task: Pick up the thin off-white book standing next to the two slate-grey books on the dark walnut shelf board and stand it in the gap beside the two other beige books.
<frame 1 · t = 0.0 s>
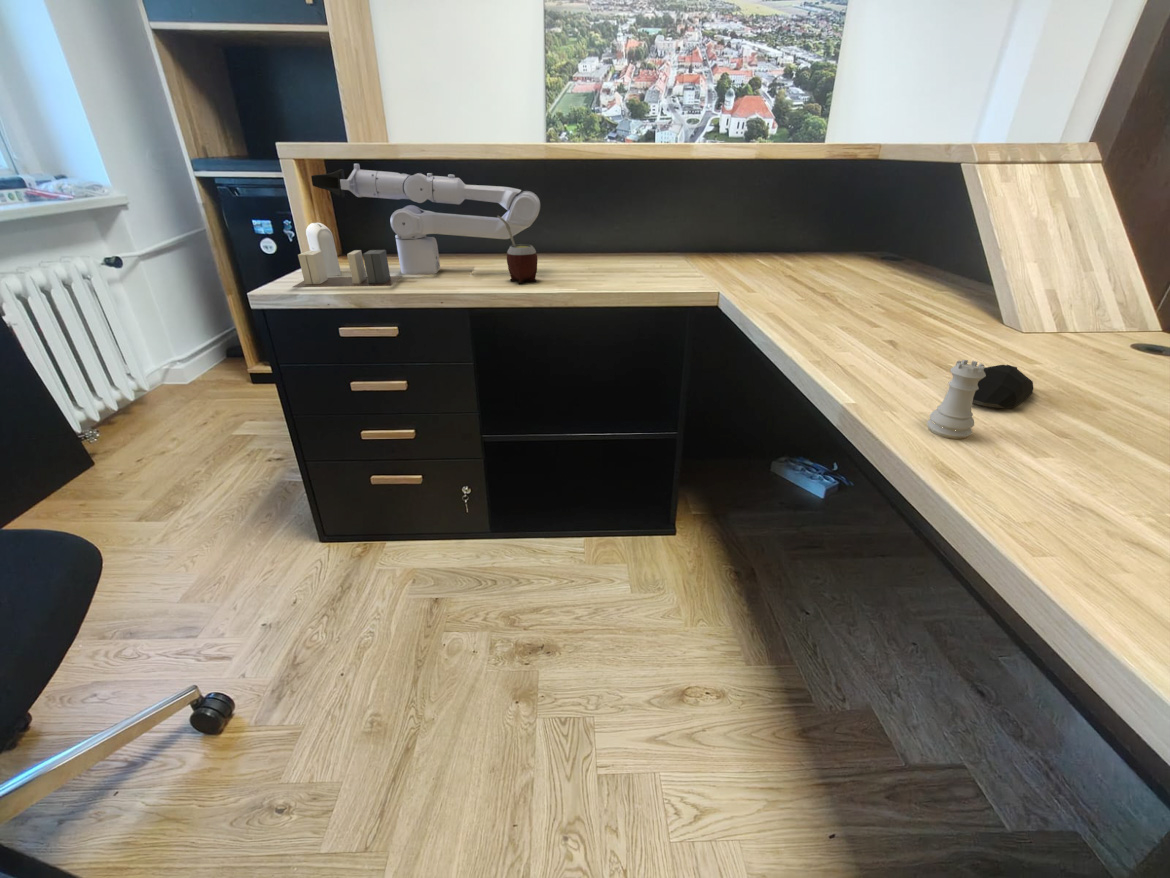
hand: (319, 179, 128), 22 cm above the table, tool horizontal, fingers open, 7 cm apart
grey books: (379, 280, 129), resting on shelf board
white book: (359, 281, 129), point 1 cm above the table, touching shelf board
gaming mouse: (998, 394, 72), on the table
photo printer: (328, 276, 138), on the table
mate gourd: (522, 282, 131), on the table
rook chess piece: (947, 432, 62), on the table
shelf board: (349, 284, 129), on the table
beige books: (316, 281, 128), resting on shelf board
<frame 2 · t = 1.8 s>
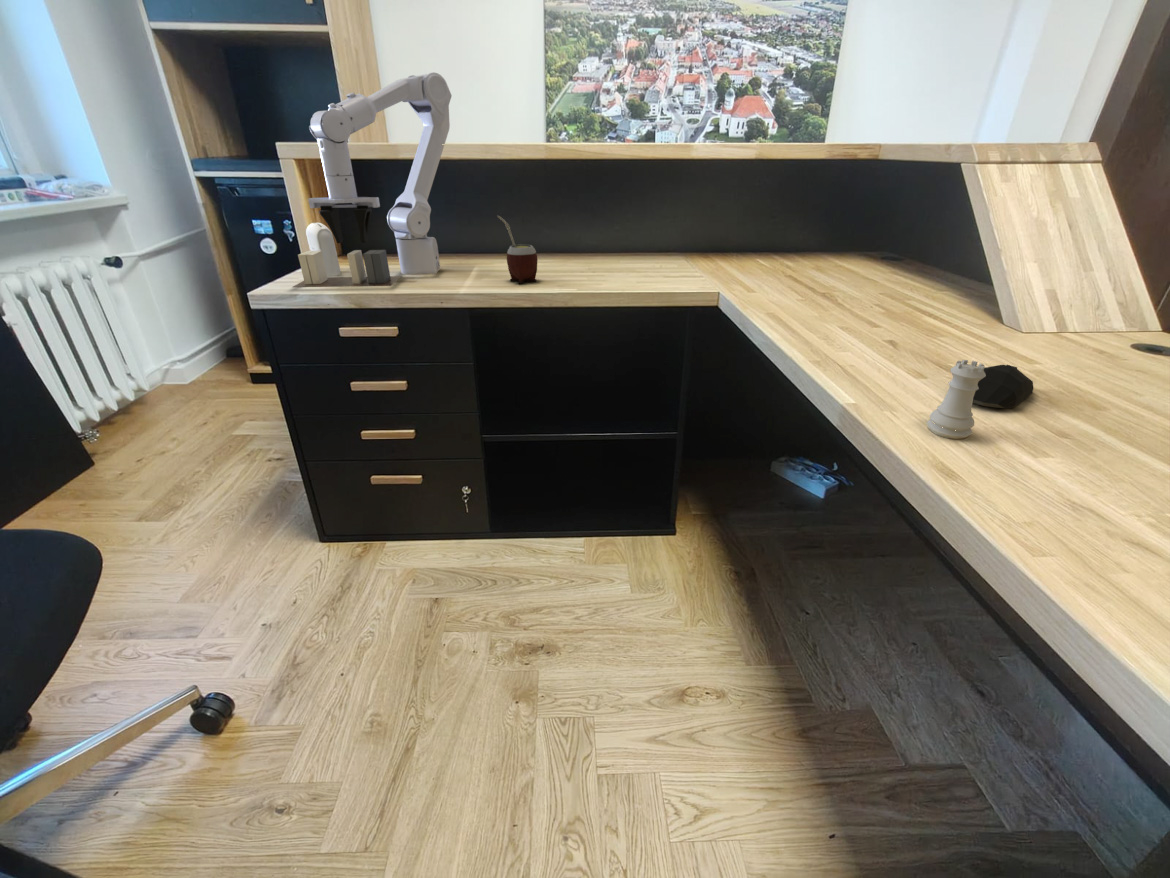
hand: (352, 242, 124), 9 cm above the table, tool pointing down, fingers open, 5 cm apart
nothing on the table moved.
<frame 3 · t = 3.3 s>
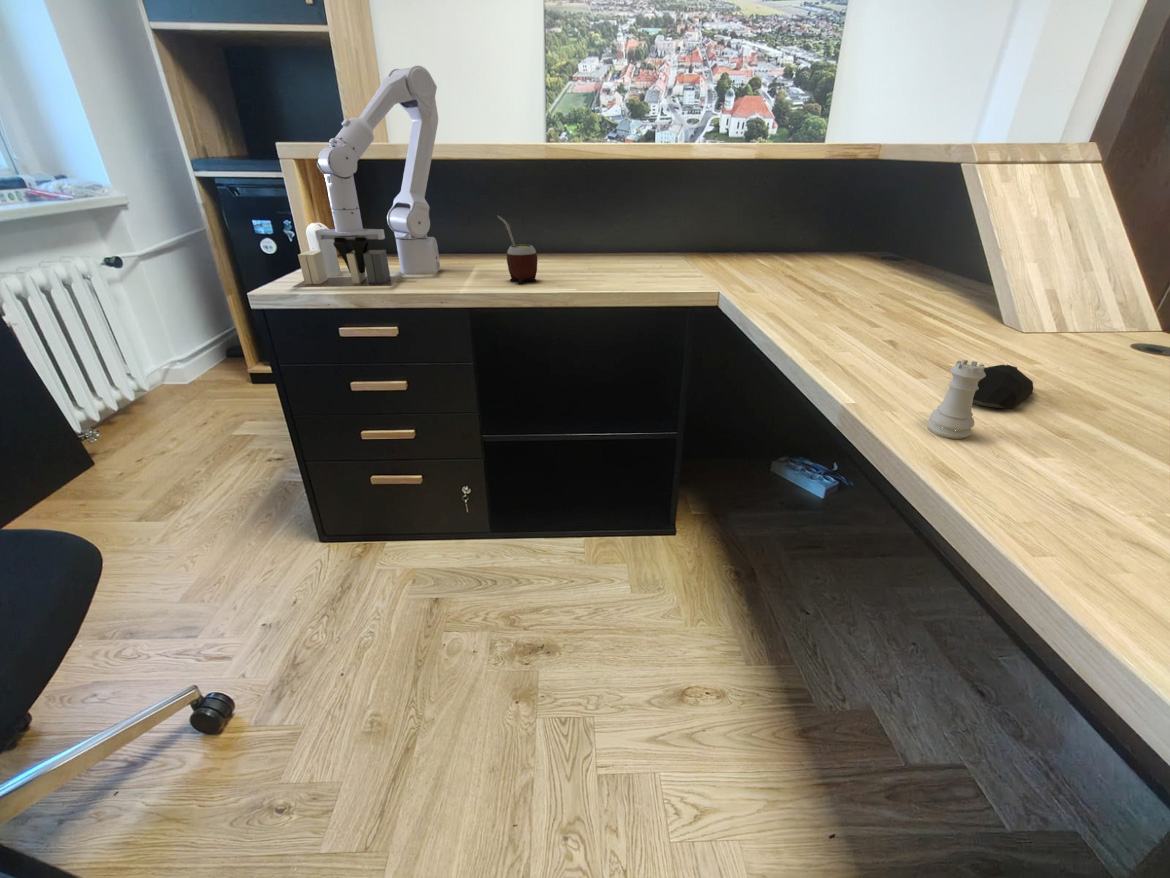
hand: (357, 272, 128), 3 cm above the table, tool pointing down, fingers closed on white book, 2 cm apart
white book: (359, 281, 129), point 1 cm above the table, touching gripper, shelf board
everything else where it was.
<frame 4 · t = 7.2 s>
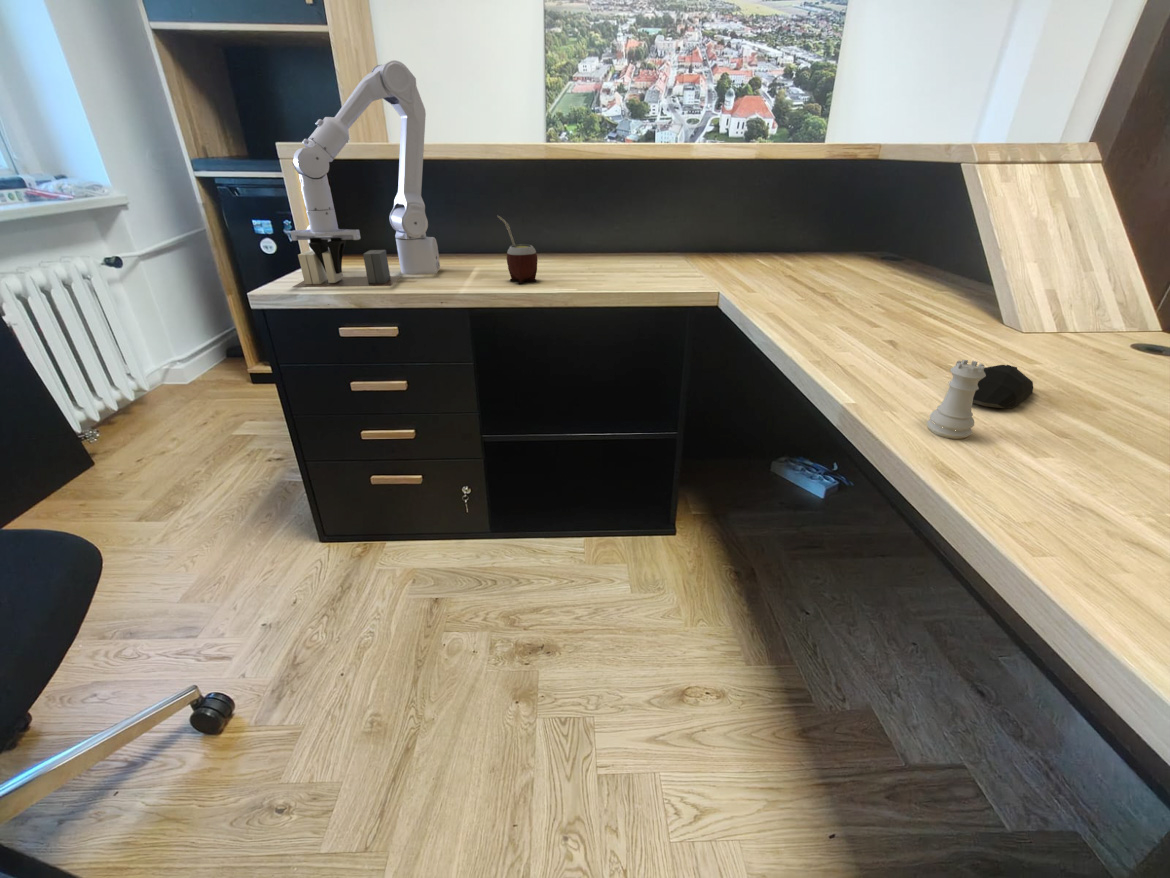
hand: (333, 272, 127), 3 cm above the table, tool pointing down, fingers closed on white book
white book: (335, 280, 128), point 1 cm above the table, touching gripper
everything else where it was.
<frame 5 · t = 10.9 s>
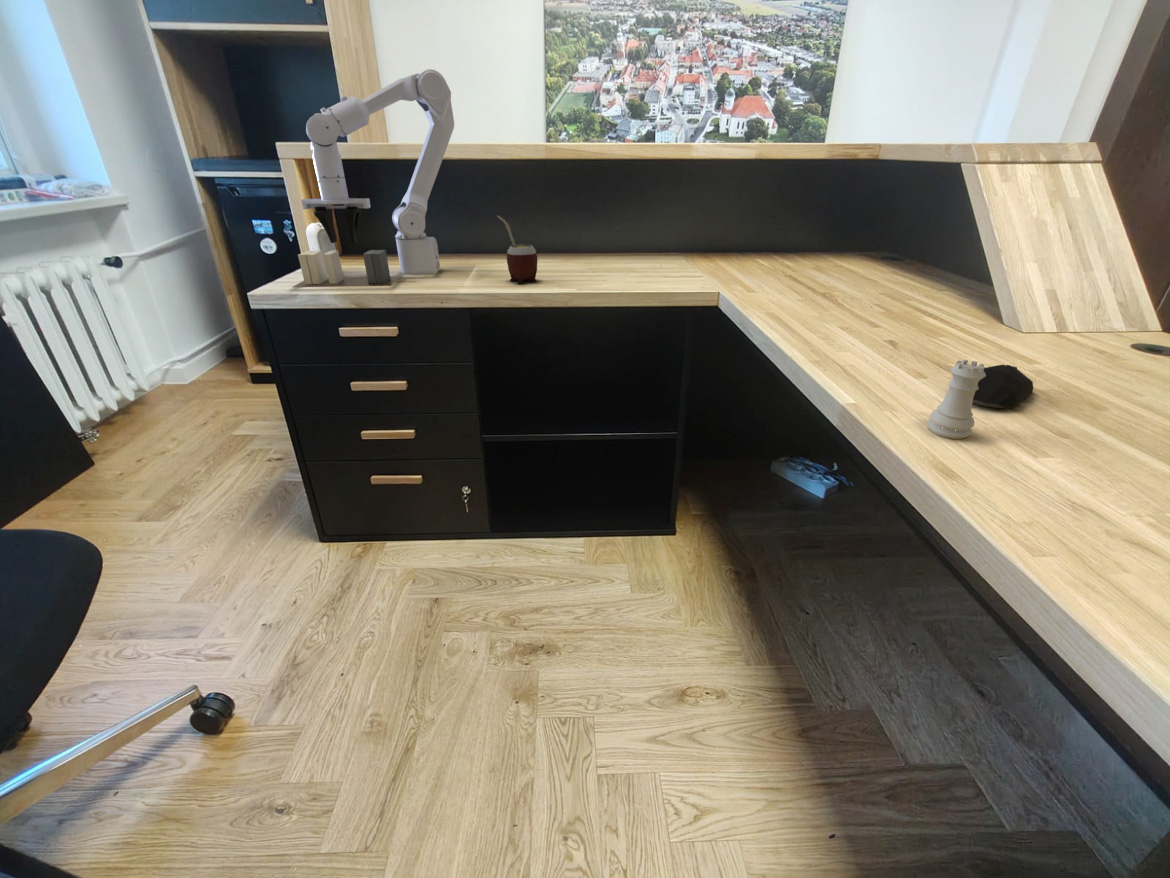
hand: (344, 242, 129), 9 cm above the table, tool pointing down, fingers open, 4 cm apart
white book: (336, 281, 129), point 1 cm above the table, touching shelf board
everything else where it was.
at the end: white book 0.3 cm from the target spot, point 0.8 cm above the table; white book tilted 0°; the gripper is holding nothing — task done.
